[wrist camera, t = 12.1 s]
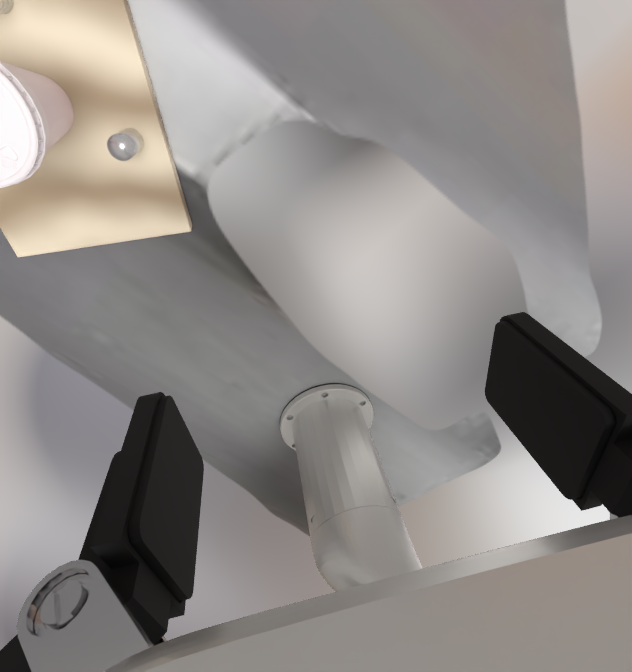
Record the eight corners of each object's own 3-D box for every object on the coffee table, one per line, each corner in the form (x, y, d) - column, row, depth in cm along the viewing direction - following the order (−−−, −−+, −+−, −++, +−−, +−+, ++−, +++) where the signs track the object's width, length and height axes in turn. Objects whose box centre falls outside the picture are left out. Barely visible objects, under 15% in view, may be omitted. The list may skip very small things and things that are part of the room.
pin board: (192, 225, 33) (186, 246, 29) (26, 250, 32) (-4, 275, 28) (94, -116, 21) (61, -160, 17) (-175, -99, 20) (-277, -142, 16)
